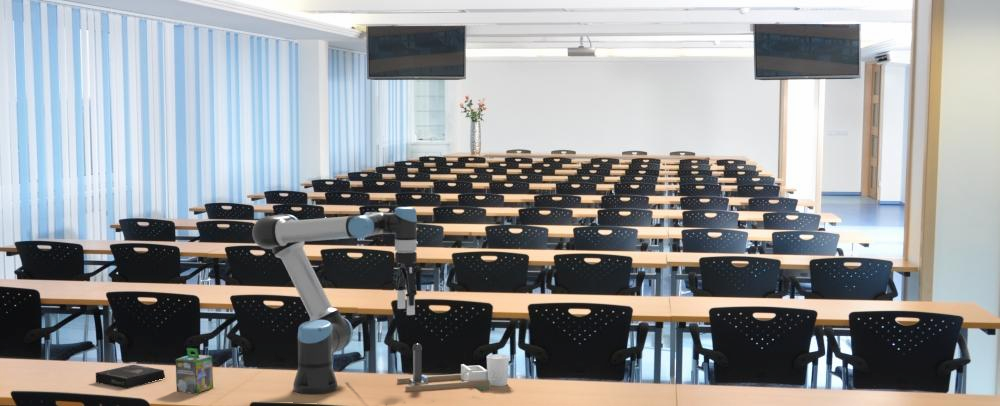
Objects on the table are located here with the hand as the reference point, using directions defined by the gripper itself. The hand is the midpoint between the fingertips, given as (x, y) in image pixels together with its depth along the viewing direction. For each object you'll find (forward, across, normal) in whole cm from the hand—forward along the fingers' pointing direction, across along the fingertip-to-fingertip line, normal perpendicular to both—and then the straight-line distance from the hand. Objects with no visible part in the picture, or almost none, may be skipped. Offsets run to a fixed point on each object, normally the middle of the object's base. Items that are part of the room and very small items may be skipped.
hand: (406, 311), depth 389 cm
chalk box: (+27, +18, +71) cm, 78 cm away
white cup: (+27, -6, -32) cm, 42 cm away
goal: (+27, -6, -24) cm, 36 cm away
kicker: (+25, -6, -3) cm, 26 cm away
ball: (+24, -6, -21) cm, 32 cm away
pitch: (+27, -6, -12) cm, 30 cm away
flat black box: (+27, +39, +92) cm, 104 cm away
